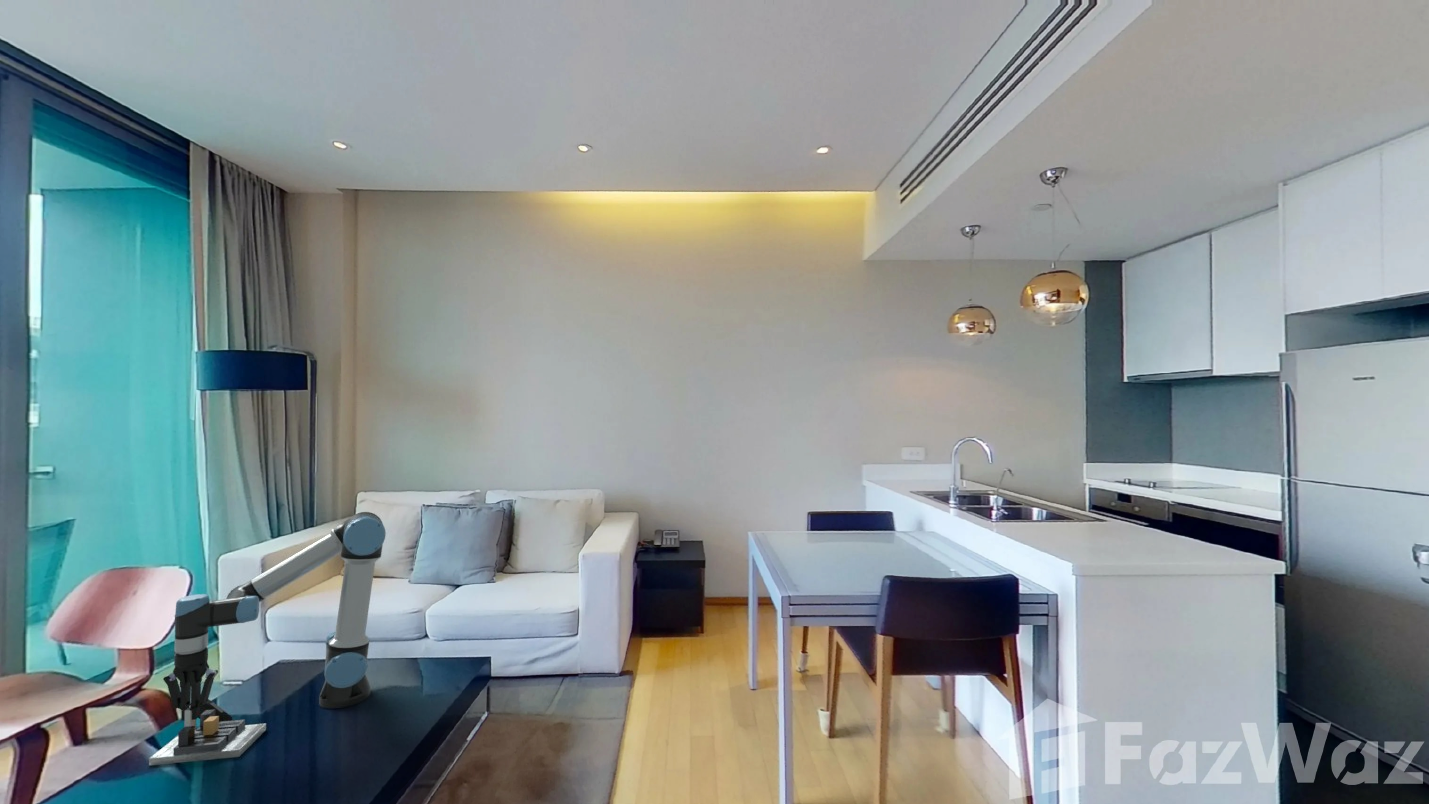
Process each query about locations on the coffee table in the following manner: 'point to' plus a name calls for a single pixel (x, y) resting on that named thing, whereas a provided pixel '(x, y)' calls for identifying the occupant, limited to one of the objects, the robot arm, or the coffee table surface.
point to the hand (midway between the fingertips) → (190, 730)
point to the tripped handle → (211, 725)
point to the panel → (210, 754)
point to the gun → (218, 712)
